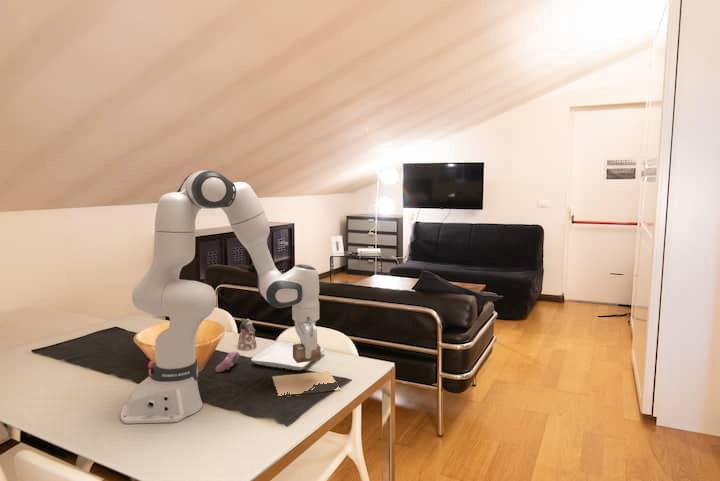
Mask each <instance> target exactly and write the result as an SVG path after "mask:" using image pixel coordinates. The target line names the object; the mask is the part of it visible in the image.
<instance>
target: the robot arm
mask: <svg viewBox="0 0 720 481" xmlns="http://www.w3.org/2000/svg"><path fill="white" fill-rule="evenodd" d="M202 209H206V210H207V209H221V210H222V211H223V212H224V214H225V216H226V217H227V220H228V222H229V225H230V226H231V228H232V229H231V230H232V231H233V233H234V235H235V236H236V238H237V239H238V240H239V242H240V243H241V245H243V247H244V248H245V249H246V250H247V252H248V254H249V256H250V258H251V261H252V264H253V266H254V268H255V270H256V273H257V290H258V292H259V294H260V296H261V297H263V298H264V300H265V301H266V302H268V304H269V305H270V306H272V307H274V308H278V309H282V308H288V307H292V308H291V314H292V316H291V317H292V320H293V321H294V322H293V323H294V328H295V332H296V334H297V336H298V338H299V342H300V344H303V345H304V347H305V357H306V358H311V351H312V350H316V349H317V344H318V330H317V326H316V322H317V321H318V320H320V301H319V294H320V278H319V277H320V276H319V272H318V270H317V269H316V268H315V267H313V266H311V265H307V264H295V265H294V266H293V267H292V268H291V269H289V270H287V271H286V272H284V273H282V272H281V271H280V270H279V269H278V268H277V267H276V265H275V262H274V260H273V257H272V255H271V253H270V250H269V247H268V237H269V235H270V232H271V229H270V224H269V221H268V220H269V219H268V217H267V214H266V211H265V210H264V207H263V206H262V203H261V201H260V199H259V197H258V196H257V193H255V191H254V189H253V187H252V186H251V185H250V184H249V183H248V182H245V181H235V182H232V181H230V180H229V178H227V177H226V176H224V175H223V174H222V173H221V172H218V171H215V170H206V169H204V170H198V171H195V172H193V173H190V174H189V175H188V176H186V177H185V178H184V180H183V182H182V183H181V185H180V187H179V188H178V189H177V191H173V192H168V193H165V194H163V195H161V196H160V197H159V199H158V203H157V205H156V212H155V216H154V217H155V219H154V220H155V221H154V236H153V238H154V240H153V241H154V244H153V256H152V259H151V260H152V261H151V264H150V267H149V269H148V271H147V272H146V273H145V275H144V277H142V278H141V279H140V280H139V281H137V283H135V285H134V286H133V289H132V293H131V300H132V304H133V306H134V308H136V310H138V311H141V312H143V313H146V314H149V315H152V316H161V317H169V325H168V327H167V328H166V329H164V330H162V331H161V332H160V333H159V334H158V335H157V336H156V338H155V341H154V343H155V344H154V346H155V360H150V361H149V362H148V364H147V367H148V376H147V377H146V378H145V379H144V380H142V381H141V382H140V383H139V384H137V385H136V386H134V388H133V389H132V391H131V392H130V395H129V399H128V402H126V403H125V404H124V405H123V407H122V408H121V409H120V415H119V418H120V421H121V422H122V423H123V424H128V425H129V424H130V425H131V424H158V423H159V424H161V423H163V424H164V423H179V422H181V421H183V419H185V418H187V417H188V416H191V415H193V414H196V413H197V412H198V411H200V410H201V409H202V407H203V404H204V403H203V401H202V398H201V394H200V390H199V385H198V384H199V383H198V378H199V364H198V359H197V358H196V351H197V350H196V345H197V342H196V341H197V334H198V330H199V328H200V326H201V325H202V323H203V321H204V320H205V319H206V318H208V317H209V316H210V315H211V314H212V313H213V312H214V311H215V308H216V305H217V294H216V291H215V290H214V288H213V287H212V285H209V284H207V283H204V282H200V281H199V280H198V281H197V280H190V279H189V280H188V279H180V274H181V271H182V268H183V267H185V266H187V265H188V264H190V263H191V262H192V261H193V260H194V259H195V255H196V219H197V216H198V213H199V212H200V211H201V210H202Z"/></svg>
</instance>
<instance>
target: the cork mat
mask: <svg viewBox="0 0 720 481" xmlns="http://www.w3.org/2000/svg"><path fill="white" fill-rule="evenodd" d="M272 380H273V384H274V387H276V388H275V389H276V390H277V391H276V390H275V391H276V394H277V393H278V394H277V397H278V396H282V395H284V393H285V395H286V394H287V392H288V394H289V393H290V395H291V394H301V393H303V392H304V391H308V390H309V389H310V388H312V387H313V385H314V384H315V385H318V384H319V383H320V384H323V383H324V384H327V383H334V382H336V380H335V378H334V377H333V374H332V373H331V372H330V371H329V370H328V371H318V372H317V371H315V372H305V373H296V374H294V373H293V374H283V375H275V376H272ZM336 383H337V382H336ZM314 388H315V387H314ZM314 388H312V389H311V390H313V389H314ZM334 390H335V391H334V392H340V391H341V387H339V385H338V387H337V388H336V389H334ZM281 394H282V395H281Z"/></svg>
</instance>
